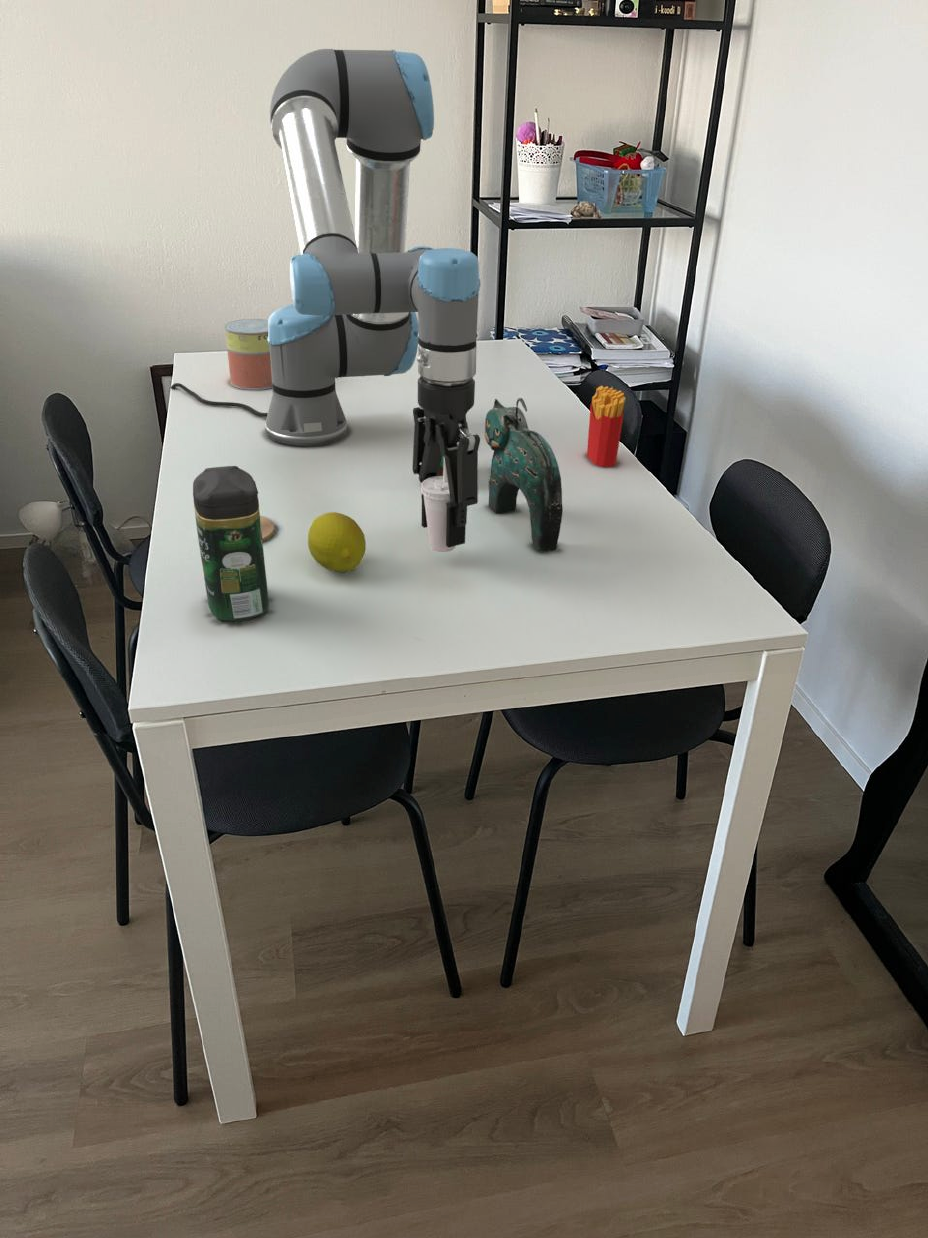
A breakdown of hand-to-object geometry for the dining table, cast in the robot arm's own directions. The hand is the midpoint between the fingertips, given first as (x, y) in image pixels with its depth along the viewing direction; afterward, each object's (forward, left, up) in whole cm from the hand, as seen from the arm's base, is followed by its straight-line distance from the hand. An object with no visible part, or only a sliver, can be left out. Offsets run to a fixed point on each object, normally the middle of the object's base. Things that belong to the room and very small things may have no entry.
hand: (442, 534), depth 136 cm
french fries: (-19, +45, -4) cm, 49 cm away
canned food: (-90, +7, -4) cm, 90 cm away
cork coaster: (-23, -22, -4) cm, 32 cm away
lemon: (-6, -14, -4) cm, 16 cm away
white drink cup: (0, 0, -2) cm, 2 cm away
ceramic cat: (-4, +17, -4) cm, 18 cm away
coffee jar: (-2, -30, -4) cm, 31 cm away
